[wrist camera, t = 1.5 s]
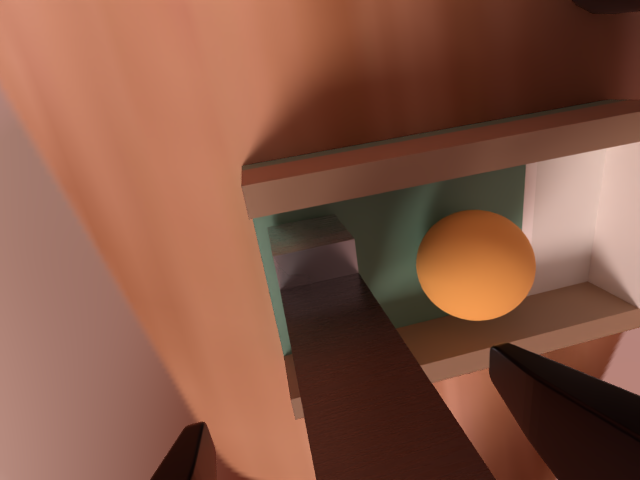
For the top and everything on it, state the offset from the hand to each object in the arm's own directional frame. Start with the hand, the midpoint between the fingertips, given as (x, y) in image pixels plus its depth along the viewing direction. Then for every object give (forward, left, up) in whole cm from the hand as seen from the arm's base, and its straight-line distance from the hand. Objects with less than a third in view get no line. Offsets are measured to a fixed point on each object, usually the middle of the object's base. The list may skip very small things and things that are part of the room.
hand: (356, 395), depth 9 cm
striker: (0, 0, -6) cm, 6 cm away
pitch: (0, -6, -8) cm, 10 cm away
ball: (0, -6, -4) cm, 7 cm away
